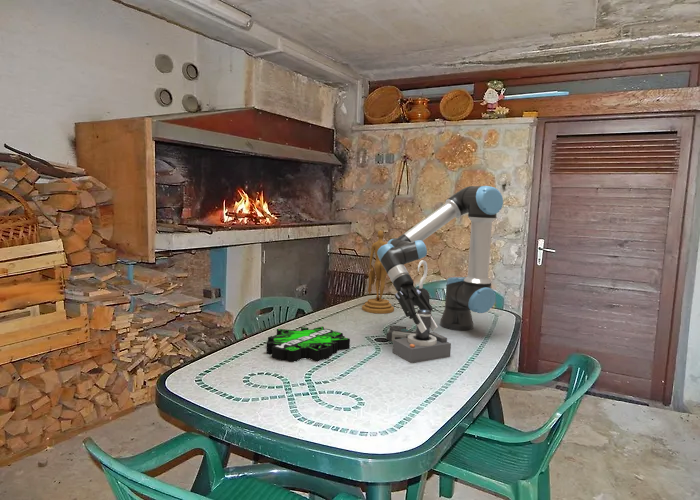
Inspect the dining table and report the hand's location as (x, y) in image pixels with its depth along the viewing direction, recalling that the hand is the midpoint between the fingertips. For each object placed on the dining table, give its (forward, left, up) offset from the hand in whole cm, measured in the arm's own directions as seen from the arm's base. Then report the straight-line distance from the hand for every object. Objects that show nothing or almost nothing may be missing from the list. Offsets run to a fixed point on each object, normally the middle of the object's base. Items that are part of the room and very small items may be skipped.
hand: (429, 329), depth 173 cm
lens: (+1, -3, -6) cm, 6 cm away
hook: (-49, -70, -11) cm, 86 cm away
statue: (-21, -69, -11) cm, 73 cm away
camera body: (0, -4, -11) cm, 11 cm away
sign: (+38, -28, -11) cm, 49 cm away
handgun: (-8, -21, -11) cm, 25 cm away
